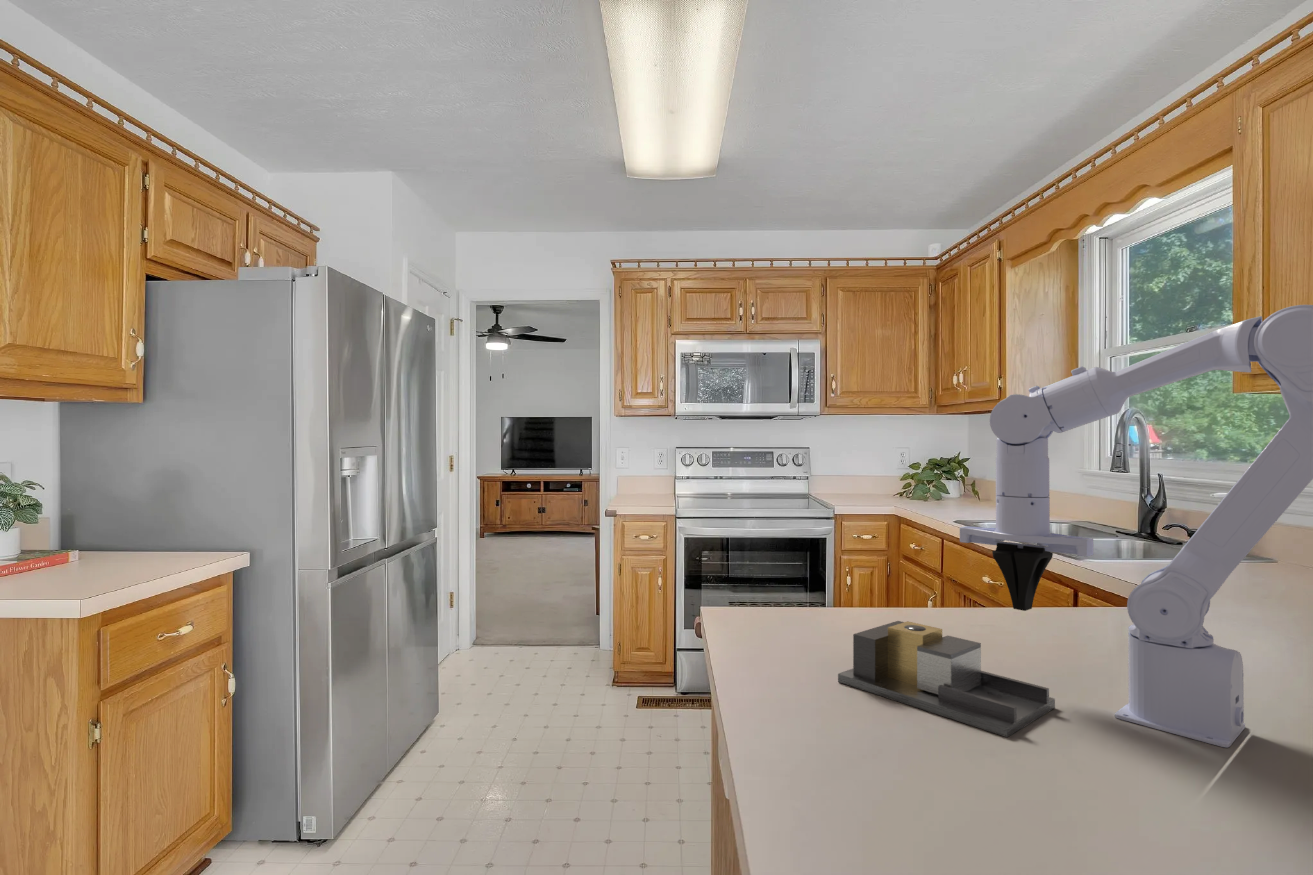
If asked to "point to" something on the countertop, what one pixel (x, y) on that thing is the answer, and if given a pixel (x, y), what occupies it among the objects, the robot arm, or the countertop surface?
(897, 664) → the housing
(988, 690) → the press bed
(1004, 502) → the robot arm
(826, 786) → the countertop surface
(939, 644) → the block
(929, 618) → the countertop surface
